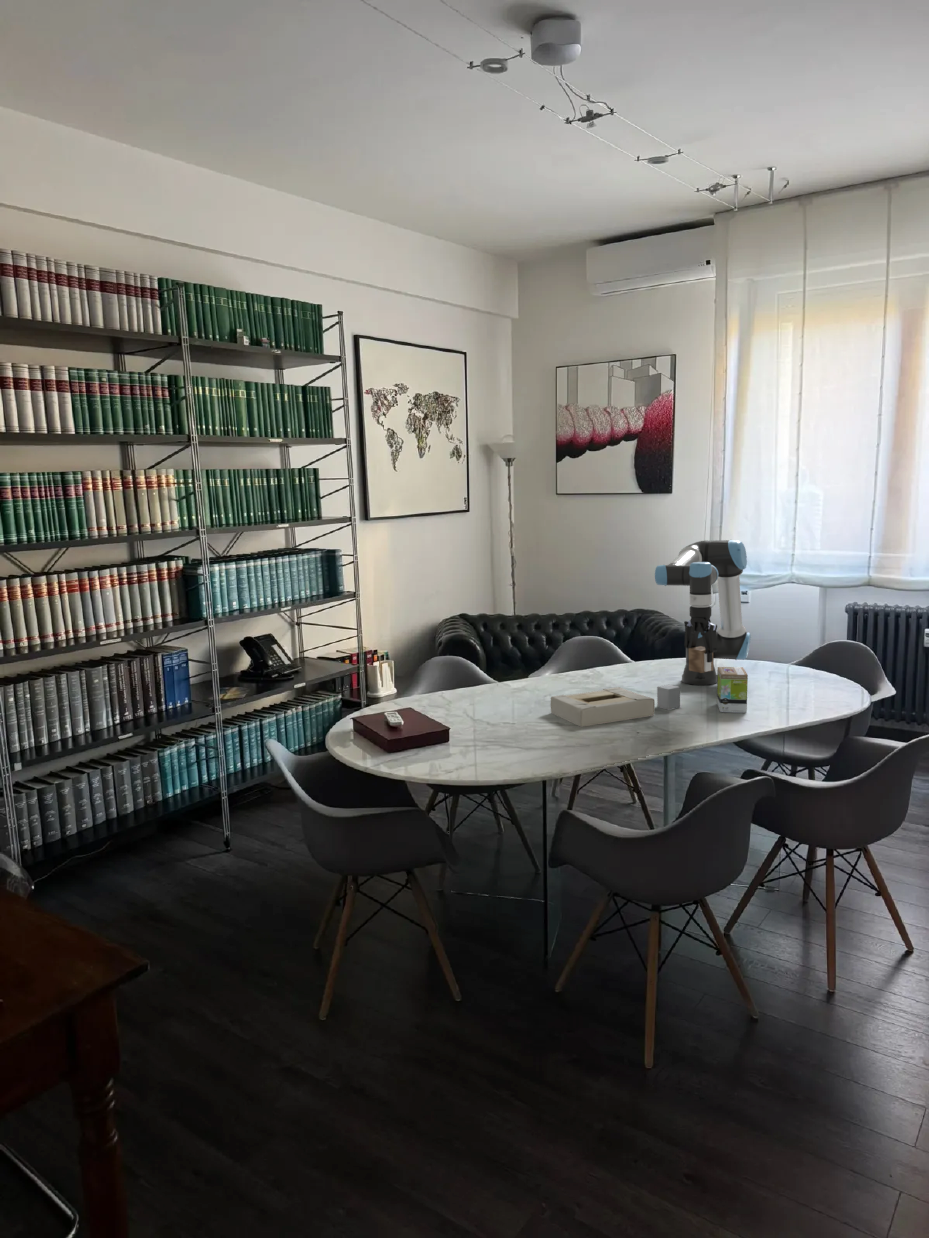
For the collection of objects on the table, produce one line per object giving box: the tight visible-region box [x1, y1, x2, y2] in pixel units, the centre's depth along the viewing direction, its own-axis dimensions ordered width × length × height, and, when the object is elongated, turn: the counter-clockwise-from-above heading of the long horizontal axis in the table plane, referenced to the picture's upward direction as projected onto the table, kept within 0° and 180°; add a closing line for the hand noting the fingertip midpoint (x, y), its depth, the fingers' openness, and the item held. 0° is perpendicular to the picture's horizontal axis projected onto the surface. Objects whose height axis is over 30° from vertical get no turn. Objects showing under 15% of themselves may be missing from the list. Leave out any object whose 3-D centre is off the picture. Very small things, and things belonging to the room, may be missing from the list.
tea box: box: [716, 666, 749, 714], centre depth 324 cm, size 15×10×15 cm
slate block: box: [656, 684, 681, 710], centre depth 330 cm, size 6×6×8 cm
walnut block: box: [689, 646, 713, 673], centre depth 307 cm, size 6×6×8 cm
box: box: [550, 686, 656, 728], centre depth 323 cm, size 23×8×32 cm
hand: (700, 669), depth 308 cm, fingers closed on walnut block, 6 cm apart
